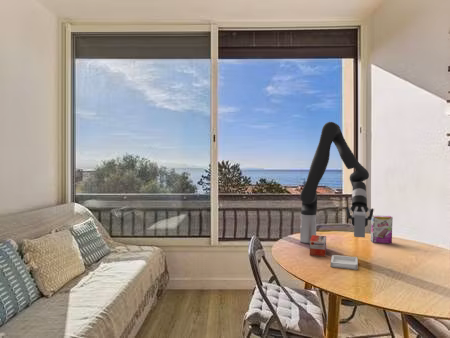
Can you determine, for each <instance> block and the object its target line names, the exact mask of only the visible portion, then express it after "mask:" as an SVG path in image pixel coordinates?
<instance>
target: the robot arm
mask: <svg viewBox="0 0 450 338" xmlns="http://www.w3.org/2000/svg"><path fill="white" fill-rule="evenodd" d="M321 128H322V129H321V134H320V137H319V141H318V145H317V147H316V150H315V152H314V155H313V158H312V159H311V164H310V167H309V171H308V173H307V178H306V181H305V184H304V186H303V188H302V190H301V192H300V195H299V199H300V201H301V208H300V209H301V210H300V226H299V227H300V231H299V232H300V233H299V234H300V237H299V238H300V239H299V241H300V243H303V244H310V239H311V236H312V235H317V210H318V194H317V193H318V192H317V191H318V186H319V184H320V182H321V180H322V178H323V176H324V175H325V173H326V170H327V167H328V165H329V162H330V155H331V154H330V153H331V147H332V144H334V146H335V148H336V149H337V151H338V154H339V157H340V159H341V161H342V162H343V164H344V165H345V167H346V169H347V170H352V169H355V171H354V172H352V173H350V175H349V181H350V184H351V187H352V191H351V192H352V193H351V206H350V207H348V206H347V207H345V213H346V216H347V219H348V220H351V225H352V226H353V227H354V211H355V212H357V211H358V212H365V228H366V227H367V226H369V223H368V222H369V221H371V219H372V215H374V210H375V209H374V208H369V207H368V195H367V185H366V183H365V181H366V180H368V179H369V177H370V173H369V171H368V169H366V168H365V166H363V165H362V164H361V163H360V162H359V161H358V159H357V158H356V156H355V155H354V153H353V152H352V150H351V148H350V147H349V145H348V143H347V142H346V139H345V138H344V135H343V133H342V129H341V127H340V125H339V124H338V123H336V122H334V121H327V122H326V123H325V124H324V125H323V127H321ZM351 211H352V215H351ZM367 212H368V213H369V215H368V214H367Z"/></svg>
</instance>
